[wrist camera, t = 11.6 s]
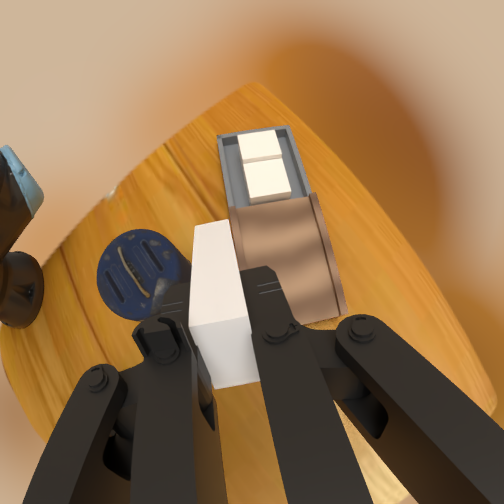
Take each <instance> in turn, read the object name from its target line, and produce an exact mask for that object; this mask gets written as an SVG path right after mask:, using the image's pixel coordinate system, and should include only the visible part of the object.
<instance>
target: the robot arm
mask: <svg viewBox="0 0 504 504" xmlns="http://www.w3.org/2000/svg"><path fill="white" fill-rule="evenodd" d="M43 199H44V194H43V191H42V190H41V188H40V187H39V185H38V184H37V182H36V181H35V180H34V178H33V177H32V176H31V174H30V173H29V172H28V170H27V169H26V168H25V166H24V165H23V164H22V162H21V161H20V160H19V158H18V157H17V156H16V154H15V153H14V152H13V150H12V149H11V148H10V147H9V146H8V145H5V146H3V147H2V148H0V321H1V322H2V323H3V324H5V325H7V326H9V327H12V328H25V327H27V326H28V325H30V324H31V323H32V322H33V320H34V319H35V318H36V316H37V314H38V312H39V310H40V307H41V303H42V299H43V291H44V281H43V274H42V270H41V268H40V265H39V263H38V262H37V260H36V259H35V258H34V257H32V256H31V255H28V254H27V253H24V252H21V251H15V252H9V250H10V249H11V247H12V246H13V244H14V243H15V241H16V240H17V239H18V237H19V236H20V235H21V233H22V232H23V230H24V229H25V227H26V226H27V225H28V224H29V222H30V221H31V220H32V219H33V218H34V215H35V213H36V211H37V210H38V209H39V207H40V206H41V204H42V202H43ZM132 337H133V339H134V341H135V343H136V344H137V346H138V348H139V350H140V351H141V353H142V355H143V357H144V361H143V362H142V363H140V364H138V365H136V366H134V367H132V368H129V369H126V370H124V371H121V372H118V371H117V370H116V368H115V367H114V366H112V365H109V364H99V365H96V366H93V367H91V368H90V369H89V370H87V371H86V372H85V373H84V374H83V376H82V377H81V378H80V380H79V382H78V384H77V385H76V387H75V389H74V391H73V393H72V395H71V397H70V398H69V400H68V402H67V404H66V406H65V408H64V410H63V412H62V414H61V416H60V418H59V420H58V422H57V424H56V426H55V428H54V430H53V432H52V434H51V436H50V438H49V441H48V443H47V445H46V447H45V449H44V452H43V454H42V456H41V458H40V461H39V463H38V465H37V468H36V470H35V472H34V475H33V477H32V480H31V482H30V485H29V487H28V490H27V492H26V495H25V498H24V500H23V504H228V500H227V493H226V486H225V478H224V470H223V462H222V453H221V444H220V435H219V425H218V415H217V404H216V401H215V398H214V396H213V394H212V385H211V382H212V384H213V386H214V389H220V388H226V387H231V386H237V385H242V384H247V383H252V382H257V381H260V382H261V387H262V391H263V396H264V401H265V405H266V410H267V414H268V419H269V423H270V428H271V432H272V437H273V441H274V446H275V450H276V454H277V459H278V463H279V467H280V472H281V476H282V480H283V484H284V489H285V493H286V497H287V501H288V504H373V501H372V498H371V496H370V493H369V490H368V488H367V485H366V482H365V480H364V477H363V475H362V472H361V469H360V467H359V464H358V462H357V459H356V457H355V454H354V451H353V449H352V446H351V444H350V441H349V439H348V436H347V434H346V431H345V429H344V426H343V424H342V421H341V419H340V416H339V414H338V411H337V409H336V406H335V404H334V401H335V402H336V403H337V404H338V406H339V407H340V408H341V410H342V411H343V412H344V413H345V415H346V416H347V417H348V418H349V420H350V421H351V422H352V423H353V425H354V426H355V427H356V428H357V430H358V431H359V432H360V433H361V435H362V436H363V437H364V438H365V440H366V441H367V442H368V443H369V445H370V446H371V447H372V448H373V449H374V451H375V452H376V453H377V454H378V456H379V457H380V458H381V459H382V460H383V462H384V463H385V464H386V465H387V467H388V468H389V469H390V470H391V471H392V473H393V474H394V475H395V476H396V477H397V479H398V480H399V481H400V482H401V483H402V485H403V486H404V487H405V488H406V489H407V490H408V492H409V493H410V494H411V495H412V496H413V497H414V499H415V500H416V501H417V502H418V503H419V504H504V430H503V429H502V428H501V427H500V426H499V425H498V424H497V423H496V422H495V421H494V420H493V419H491V418H490V417H489V416H488V415H487V414H486V413H485V412H484V411H483V410H482V409H481V408H480V407H479V406H478V405H477V404H475V403H474V402H473V401H472V400H471V399H470V398H469V397H468V396H467V395H466V394H465V393H463V392H462V391H461V390H460V389H459V388H458V387H457V386H456V385H455V384H454V383H452V382H451V381H450V380H449V379H448V378H447V377H446V376H445V375H443V374H442V373H441V372H440V371H439V370H438V369H437V368H436V367H434V366H433V365H432V364H431V363H430V362H429V361H428V360H427V359H425V358H424V357H423V356H422V355H421V354H420V353H419V352H417V351H416V350H415V349H414V348H413V347H412V346H410V345H409V344H408V343H407V342H406V341H405V340H404V339H402V338H401V337H400V336H399V335H398V334H397V333H395V332H394V331H393V330H392V329H391V328H389V327H388V326H387V325H386V324H385V323H384V322H382V321H381V320H379V319H378V318H376V317H374V316H370V315H366V314H359V315H353V316H350V317H346V318H345V319H344V320H342V321H341V322H340V323H339V325H338V327H337V328H336V330H314V329H310V328H307V327H305V326H303V325H301V324H300V323H299V322H298V321H297V320H296V319H295V318H294V316H293V314H292V311H291V309H290V306H289V304H288V301H287V299H286V297H285V294H284V292H283V289H282V287H281V284H280V282H279V280H278V277H277V275H276V272H275V271H274V270H272V269H271V268H270V267H268V266H267V265H265V266H261V267H256V268H251V269H246V270H242V271H239V269H238V264H237V259H236V254H235V249H234V244H233V240H232V235H231V230H230V225H229V220H228V219H226V220H221V221H216V222H212V223H207V224H202V225H197V226H195V233H194V244H193V257H192V271H191V282H188V283H183V284H178V285H172V286H170V287H169V289H168V290H167V291H166V293H165V294H164V297H163V302H162V308H161V314H158V315H155V316H152V317H149V318H147V319H146V320H144V321H142V322H141V323H140V324H139V325H138V326H137V327H136V328H135V329H134V331H133V333H132ZM333 400H334V401H333Z"/></svg>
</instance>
